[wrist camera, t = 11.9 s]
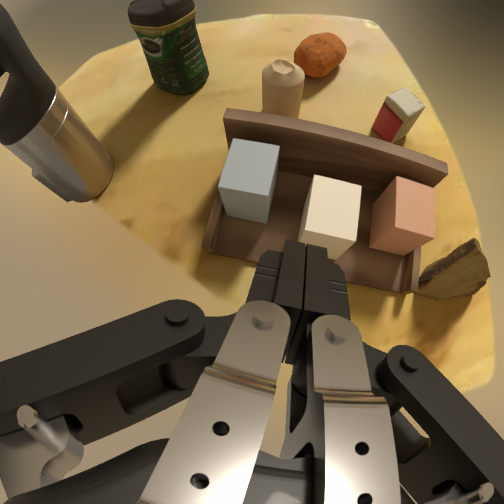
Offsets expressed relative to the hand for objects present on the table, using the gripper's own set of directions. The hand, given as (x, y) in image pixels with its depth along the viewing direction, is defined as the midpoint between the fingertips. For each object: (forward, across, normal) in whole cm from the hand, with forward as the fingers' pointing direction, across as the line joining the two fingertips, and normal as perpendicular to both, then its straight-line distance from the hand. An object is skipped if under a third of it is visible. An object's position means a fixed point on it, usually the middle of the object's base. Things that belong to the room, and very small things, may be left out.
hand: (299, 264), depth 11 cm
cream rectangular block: (+24, -4, +10) cm, 26 cm away
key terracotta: (+26, -13, +8) cm, 30 cm away
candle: (+37, +4, -2) cm, 37 cm away
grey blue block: (+26, +5, +8) cm, 27 cm away
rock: (+22, -24, +12) cm, 35 cm away
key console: (+25, -4, +9) cm, 27 cm away
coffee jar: (+41, +23, -6) cm, 47 cm away
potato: (+47, 0, -12) cm, 48 cm away
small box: (+38, -13, -4) cm, 40 cm away
